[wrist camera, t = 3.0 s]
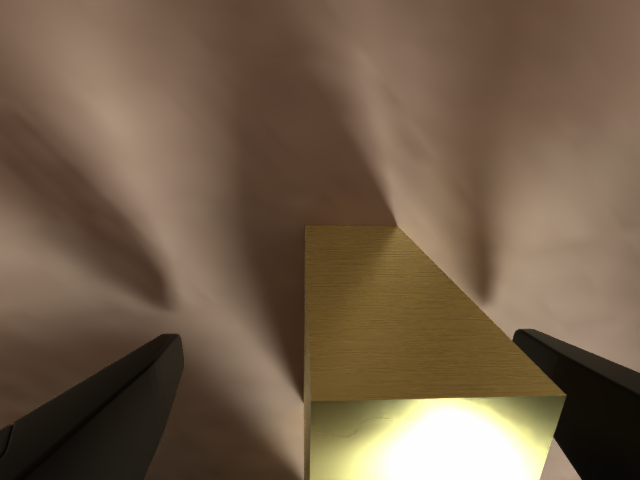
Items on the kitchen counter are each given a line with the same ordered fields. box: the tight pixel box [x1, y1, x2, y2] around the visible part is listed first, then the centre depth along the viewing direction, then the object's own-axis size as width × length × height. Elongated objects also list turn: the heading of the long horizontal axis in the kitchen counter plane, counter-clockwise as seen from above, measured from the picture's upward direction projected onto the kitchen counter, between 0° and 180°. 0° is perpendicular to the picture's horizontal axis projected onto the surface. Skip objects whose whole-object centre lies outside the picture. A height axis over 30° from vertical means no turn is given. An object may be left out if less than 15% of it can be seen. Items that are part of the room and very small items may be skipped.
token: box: [304, 225, 567, 480], centre depth 7 cm, size 2×6×6 cm, turn 179°
